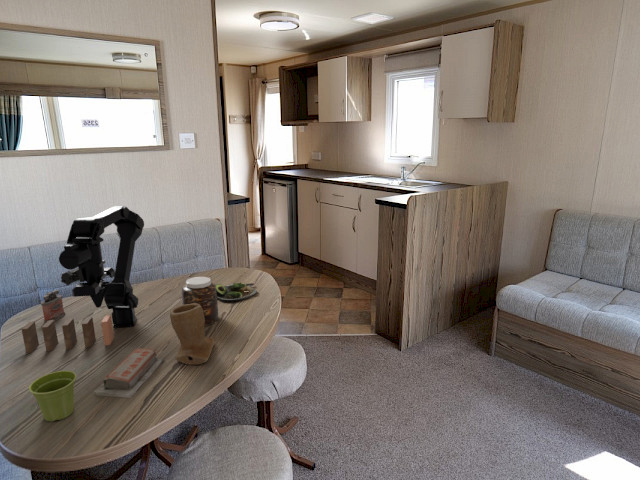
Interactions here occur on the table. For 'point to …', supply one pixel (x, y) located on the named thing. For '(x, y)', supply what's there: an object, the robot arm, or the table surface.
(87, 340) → the domino
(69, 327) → the domino
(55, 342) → the domino
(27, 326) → the domino
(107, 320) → the domino
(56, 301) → the lighter
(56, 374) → the plant pot
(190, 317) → the tan boot
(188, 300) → the jar
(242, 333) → the table surface
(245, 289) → the salad plate
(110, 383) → the packaged product
